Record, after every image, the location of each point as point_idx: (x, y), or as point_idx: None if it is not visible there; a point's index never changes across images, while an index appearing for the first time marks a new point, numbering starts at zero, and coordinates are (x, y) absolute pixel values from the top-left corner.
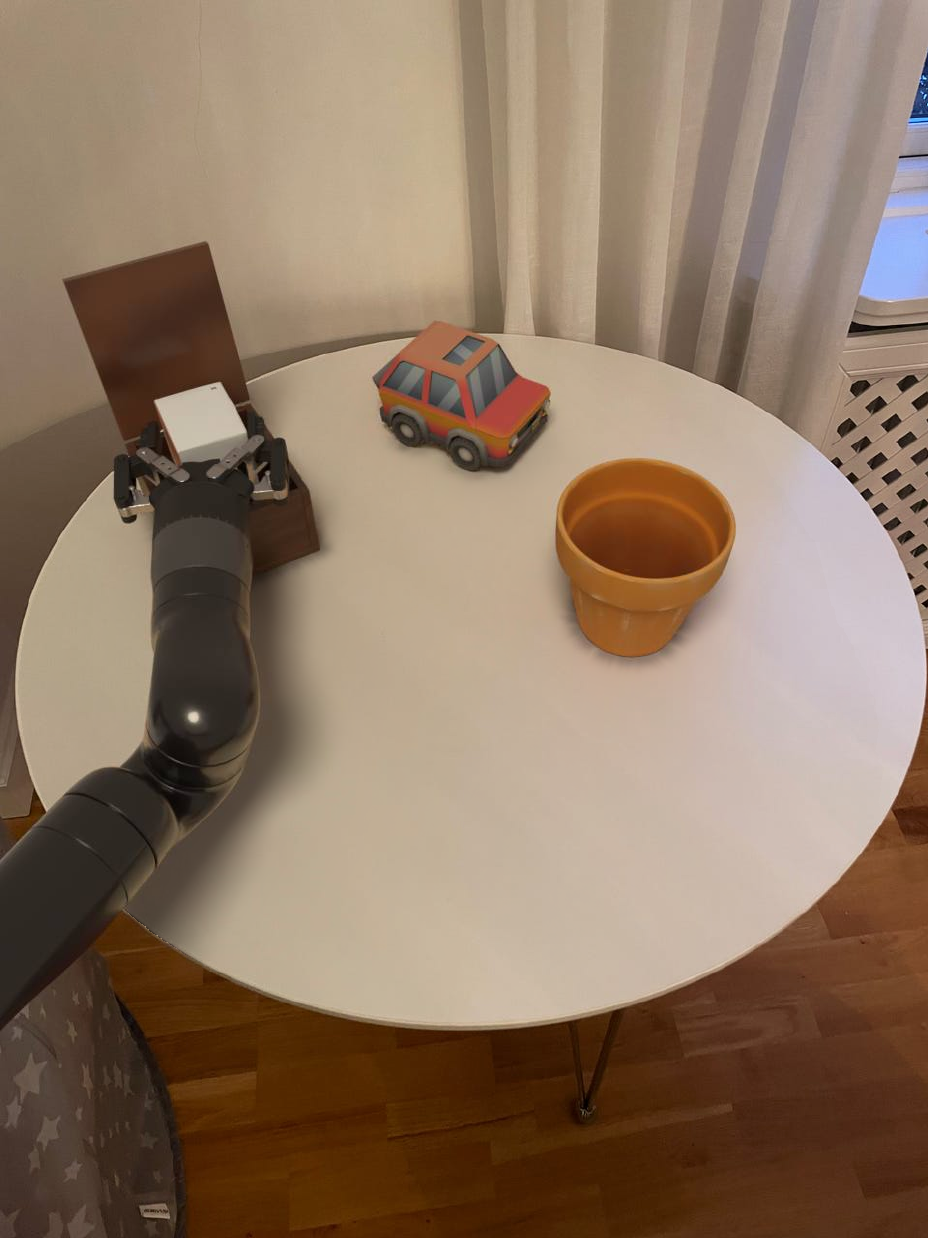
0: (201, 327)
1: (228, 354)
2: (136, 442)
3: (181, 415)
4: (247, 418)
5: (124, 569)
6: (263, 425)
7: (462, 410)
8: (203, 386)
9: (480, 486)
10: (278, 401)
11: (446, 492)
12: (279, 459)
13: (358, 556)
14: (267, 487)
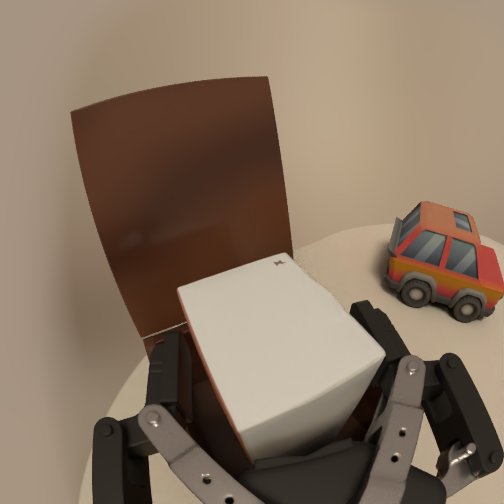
0: (249, 180)
1: (278, 219)
2: (156, 338)
3: (230, 320)
4: (364, 317)
5: (155, 476)
6: (392, 327)
7: (475, 272)
8: (260, 260)
9: (478, 335)
10: None
11: (461, 346)
12: (476, 406)
13: (425, 441)
14: (464, 475)
